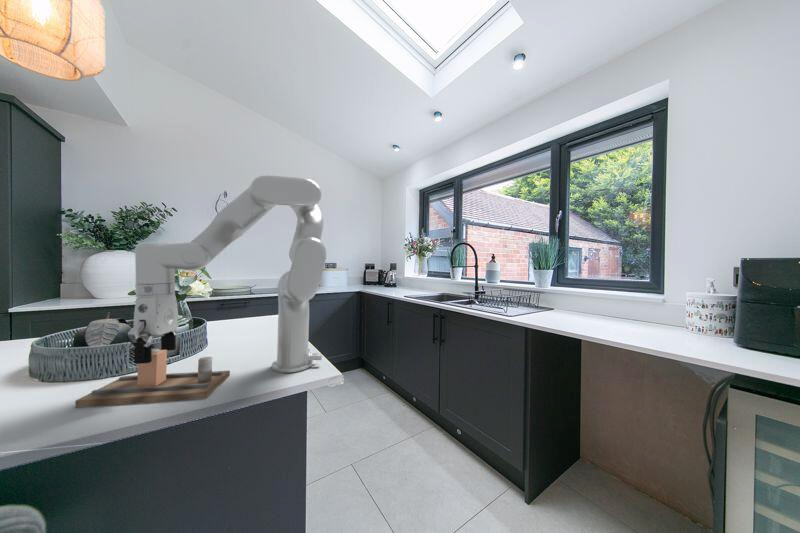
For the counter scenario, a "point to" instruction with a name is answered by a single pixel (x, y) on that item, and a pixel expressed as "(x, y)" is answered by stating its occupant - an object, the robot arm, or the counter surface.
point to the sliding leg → (153, 370)
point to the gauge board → (159, 388)
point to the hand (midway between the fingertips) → (156, 356)
